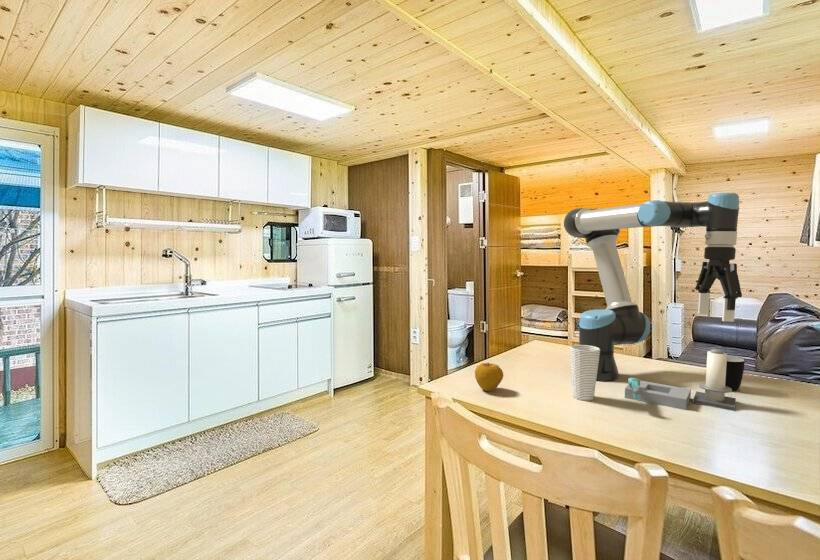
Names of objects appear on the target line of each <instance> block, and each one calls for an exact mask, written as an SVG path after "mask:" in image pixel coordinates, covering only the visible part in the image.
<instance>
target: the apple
mask: <svg viewBox="0 0 820 560" xmlns="http://www.w3.org/2000/svg"><path fill="white" fill-rule="evenodd" d="M474 377H475V380H476V383H477V385H478V386H479V387H480V388H481V390H483V391H485V392H493V391H494V390H496V389H497V387H498V386H499V385H500V384H501V382H502V381H503V379H504V371H503V369H502V368H501V367H500V365H498V364H496V363H493V362H492V363H490V362H482V363H480V364H478V365H477V366H476V367H475V370H474Z"/></svg>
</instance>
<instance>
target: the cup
mask: <svg viewBox="0 0 820 560" xmlns="http://www.w3.org/2000/svg"><path fill="white" fill-rule="evenodd" d="M569 349H570V350H569V351H570V365H571V366H570V368H571V369H570V370H571V387H572V397H573V398H574V399H576V400H580V401H587V402H588V401H592V400H594V399H595V392H596V384H597V380H596V378H597V370H598V363H599V355H600V348H598V347H595V346H590V345H579V344H574V345H570V347H569Z"/></svg>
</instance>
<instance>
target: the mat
mask: <svg viewBox="0 0 820 560" xmlns="http://www.w3.org/2000/svg"><path fill="white" fill-rule="evenodd" d="M736 400H737V398H736V397H733V396H732V397H731V396H725V397H724V401H723V402H718V401H712V400H708V399H706V398H705V392H704V391H703V392H702V391H695V395H694V396H693V398H692V404H696V405H702V406H706V407H707V406H708V407H713V408H718V409H723V410H729V411H734V412H735V411H736V410H735V409H736Z"/></svg>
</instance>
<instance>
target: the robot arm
mask: <svg viewBox="0 0 820 560" xmlns="http://www.w3.org/2000/svg"><path fill="white" fill-rule="evenodd" d="M739 213H740V195H738V193H735V192H717V193H711V194H709V195H708V198H707V201H701V202H683V201H682V202H681V201H680V202H679V201H666V200H665V201H664V200H659V199H657V200H648V201H645V202H643V203H637V204H636V203H635V204H631V205H630V204H629V205H628V204H627V205H621V206H614V207H607V208H606V207H605V208H588V207H578V208H574V209H571V210H570V211H569V212H568V213H567V214H565V216H564V219H563V227H564V230H565V232H566V233H567V234H568V235H570V236H571V237H574V238H578V239H585V242H586V246H587V247H589V248H590V249H591V250H592V253H593V256H594V260H595V265H596V268H597V271H598V275H599V280H600V284H601V286H602V290H603V295H604V299H605V303H606V307H605V309H603V308H602V309H590V310H586V311H584V312H582V313H581V315H580V316H579V317H580V318H579V323H578V326H579V331H578V332H579V333H578V335H579V336H578V337H579V338H578V339H579V340H578V345H590V346H595V347H598V348H600V355H599V363H598V370H597V378H596V381H601V382H602V381H603V382H604V381H605V382H608V381H615V380H617V379H619V370H618V367H617V362H616V360H615V355H614V354H615V353H614V351H615V346H621V345H622V346H623V345H635V344H639V343H642V342H644V341H645V340H646V339H647V338H648V335H649V334H650V332H651V323H650V322H651V321H650V319H649V317H648V316H647V315H646V314H645V313H644V312H642V311H640V309H639V306H638V304H636V303H635V302H633V301H632V297H631V293H630V290H629V287H628V282H627V279H626V277H625V276H626V275H625V272H624V269H623V265H622V261H621V259H620V258H621V257H620V255H619V251H618V247H617V243H616V242H617V241H618V240H619V236H618V235H619V234H620V232H621V230H622V229H623V230H624V229H635V228H652V227H673V228H679V229H680V228H681V229H684V228H697V227H698V228H700V227H705V235H704V238H705V242H704V243H705V245H706V246H705V248H704V254H703V255H704V256H703V259H704V260H708V261H702V265H701V270H700V273H699V276H698V279H697V281H696V286H695V288H694V289H695V291H697V292H698V293H699V295H698V307H697V310H698V311H697V314H699V315H709V313H710V312H709V310H710V299H711V296H710V295H711V288H712V287H713V285H714V282H715V281H716V279H717V280H718V281H720V285H721V288H722V290H723V293H724V296H723V297H722V298H723V302H722V303H723V305H722V318H721V321H722V322H731V323H732V322H733V323H734V322H735V312H736V311H735V310H736V300H737V299H738V298H742V297H743V293H742V290H741V289H742V288H741V284H740V280H739V275H738V264H737V263H731V262H730V261H734V260H736V253H737V252H736V251H737V249H736V247H735V246H736V245H737V239H738V238H737V237H738V223H739V222H738V221H739V220H738V219H739Z"/></svg>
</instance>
